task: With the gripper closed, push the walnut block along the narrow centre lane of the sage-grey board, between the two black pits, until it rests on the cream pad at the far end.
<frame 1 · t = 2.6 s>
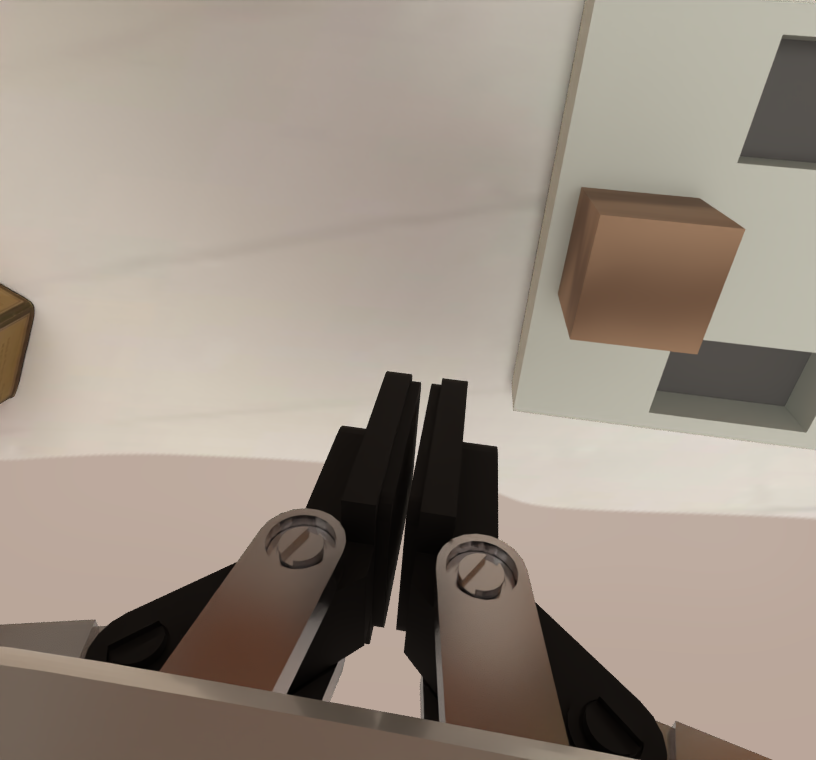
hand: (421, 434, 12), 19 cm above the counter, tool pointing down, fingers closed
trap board: (767, 247, 27), on the counter
walnut block: (624, 249, 25), point 3 cm above the counter, touching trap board
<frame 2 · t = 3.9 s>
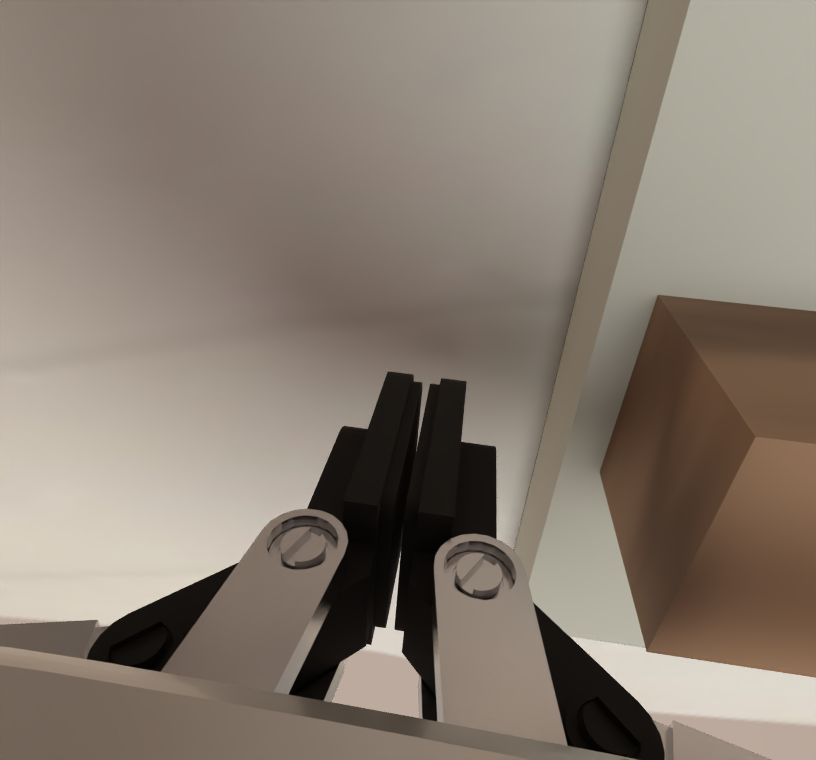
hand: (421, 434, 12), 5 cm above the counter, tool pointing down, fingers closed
walnut block: (734, 405, 13), point 3 cm above the counter, touching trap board
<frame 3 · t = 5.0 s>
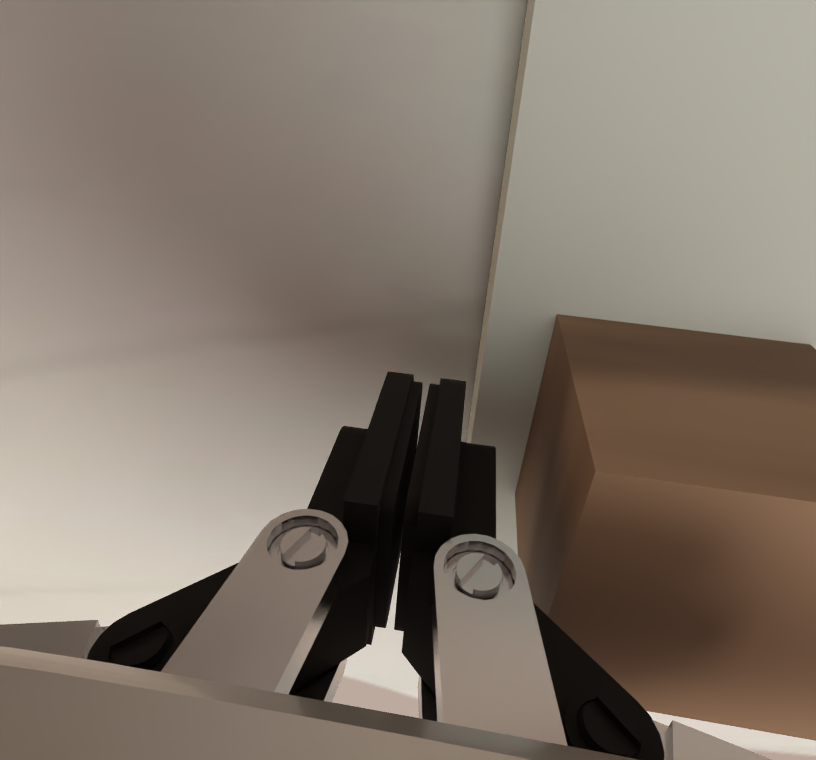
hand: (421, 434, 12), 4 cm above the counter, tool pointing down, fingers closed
walnut block: (644, 428, 12), point 3 cm above the counter, touching gripper
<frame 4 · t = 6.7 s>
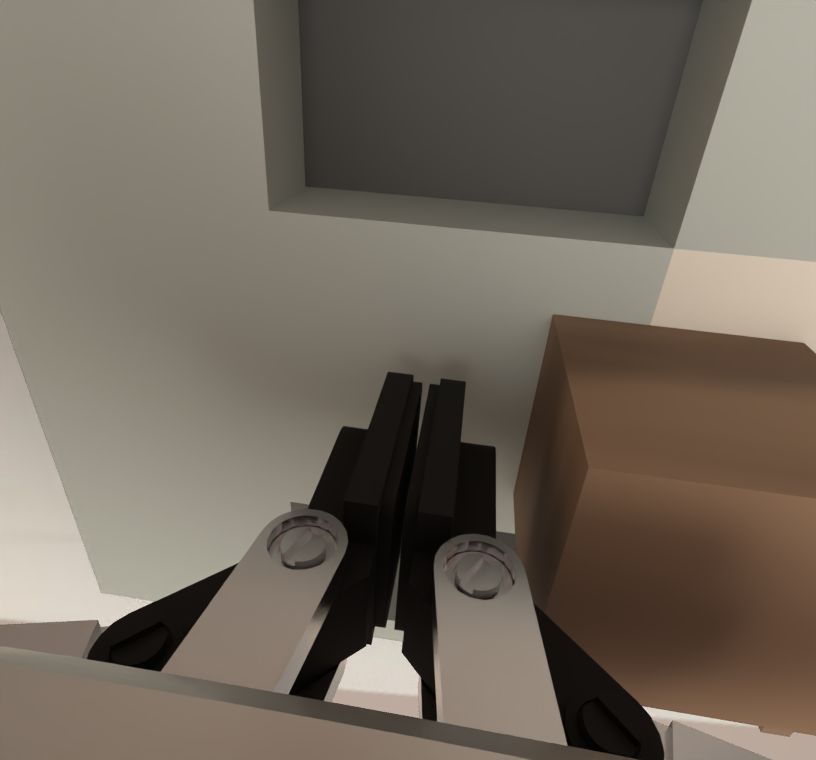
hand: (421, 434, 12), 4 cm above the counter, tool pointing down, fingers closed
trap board: (454, 342, 15), on the counter
walnut block: (641, 427, 12), point 3 cm above the counter, touching gripper
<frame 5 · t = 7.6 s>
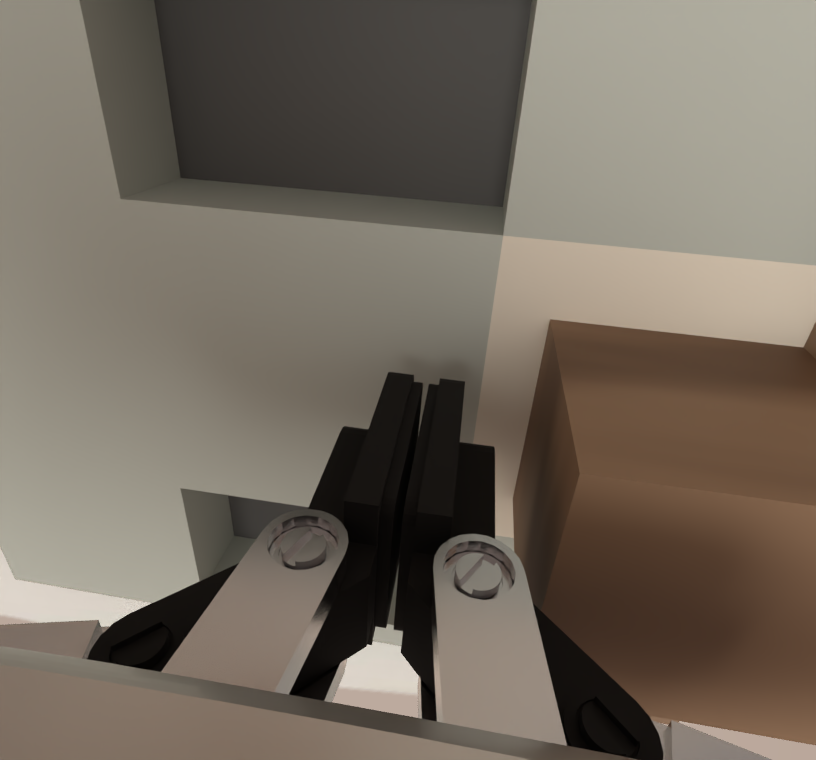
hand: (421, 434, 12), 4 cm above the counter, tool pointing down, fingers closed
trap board: (342, 332, 16), on the counter
walnut block: (640, 432, 12), point 3 cm above the counter, touching gripper, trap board
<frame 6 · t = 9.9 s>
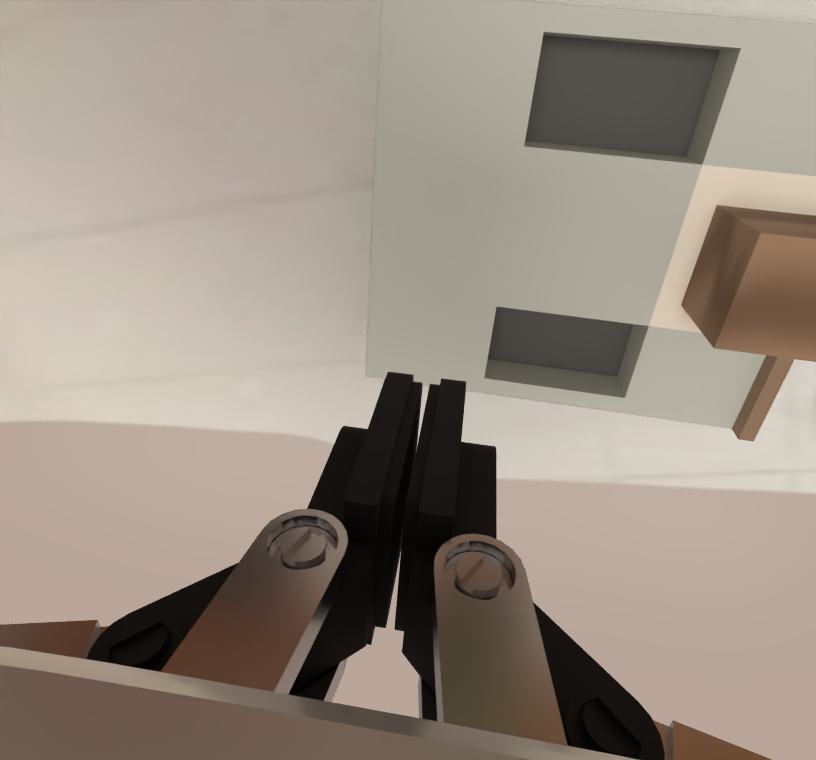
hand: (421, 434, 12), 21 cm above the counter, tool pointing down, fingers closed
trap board: (582, 226, 29), on the counter
walnut block: (751, 263, 26), point 3 cm above the counter, touching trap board
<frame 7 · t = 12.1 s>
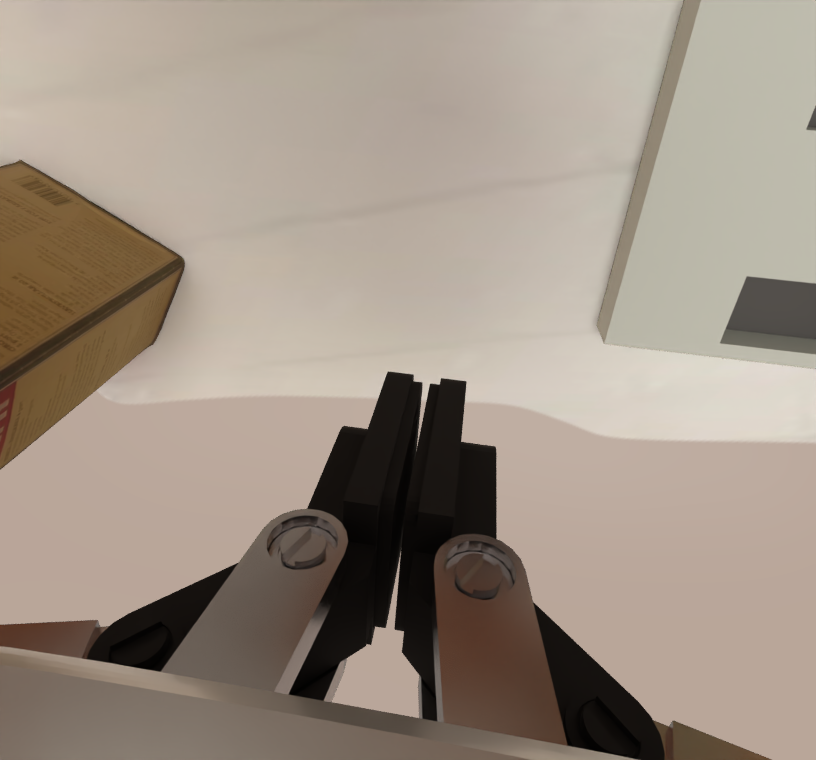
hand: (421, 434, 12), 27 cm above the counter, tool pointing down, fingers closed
food packaging: (92, 259, 42), on the counter
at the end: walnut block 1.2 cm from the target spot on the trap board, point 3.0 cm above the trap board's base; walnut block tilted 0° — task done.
